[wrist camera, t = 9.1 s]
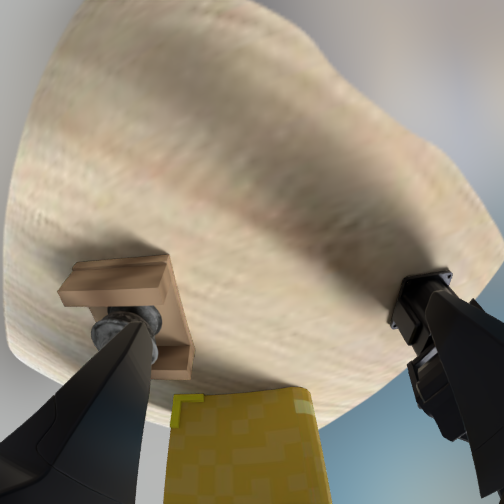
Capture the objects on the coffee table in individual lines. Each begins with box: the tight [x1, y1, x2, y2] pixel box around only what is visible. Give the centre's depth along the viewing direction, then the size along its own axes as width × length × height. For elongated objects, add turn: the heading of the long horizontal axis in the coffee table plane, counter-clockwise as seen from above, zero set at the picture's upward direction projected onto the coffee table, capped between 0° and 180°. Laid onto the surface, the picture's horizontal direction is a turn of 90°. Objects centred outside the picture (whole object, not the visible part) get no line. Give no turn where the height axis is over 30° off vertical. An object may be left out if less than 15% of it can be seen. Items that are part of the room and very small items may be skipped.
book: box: [163, 387, 332, 504], centre depth 21 cm, size 17×7×25 cm, turn 98°
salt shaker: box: [91, 305, 162, 364], centre depth 18 cm, size 6×6×12 cm
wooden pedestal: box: [57, 254, 195, 380], centre depth 22 cm, size 9×11×4 cm
